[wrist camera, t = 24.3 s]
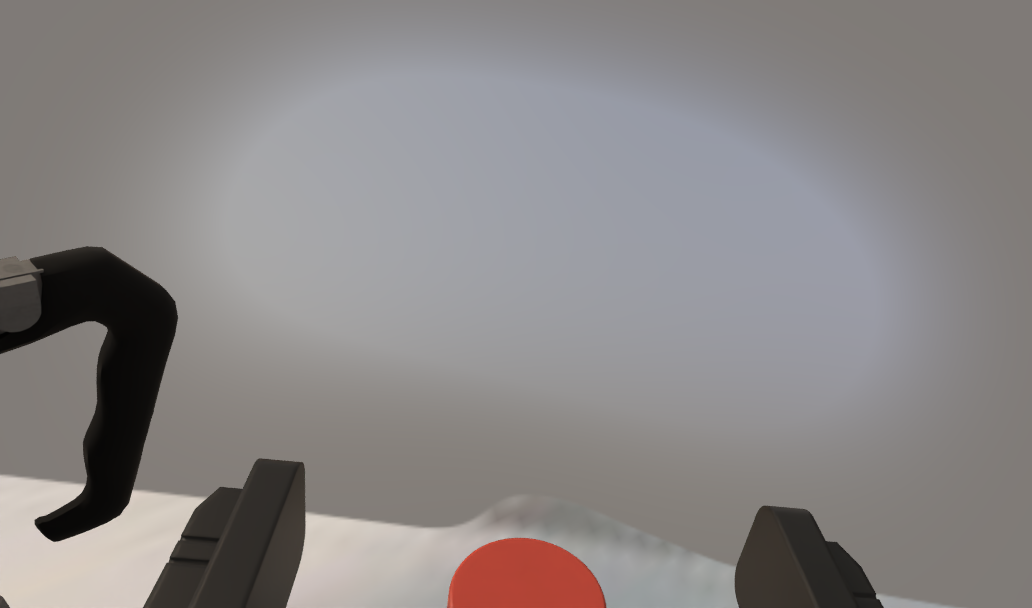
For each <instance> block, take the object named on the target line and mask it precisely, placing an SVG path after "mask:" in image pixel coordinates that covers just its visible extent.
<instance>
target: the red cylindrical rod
mask: <svg viewBox="0 0 1032 608" xmlns="http://www.w3.org/2000/svg"><path fill="white" fill-rule="evenodd" d="M447 608H606V602H605V598H604V595H603V592H602V589H601V587H600V585H599V583H598V581H597V579H596V578H595V576H594V575H593V574H592V572H591V571H590V570H589V569H588V568H587V566H586V565H585V564H584V563H583V562H581V561H580V560H579V559H578V558H577V557H575V556H574V555H572V554H571V553H570V552H568V551H566V550H564V549H562V548H560V547H558V546H556V545H554V544H551V543H548V542H545V541H541V540H536V539H529V538H509V539H503V540H498V541H495V542H491V543H489V544H486V545H484V546H482V547H480V548H479V549H477V550H475V551H474V552H473V553H471V554H470V555H469V556H468V557H467V558H466V559H465V560H464V561H463V562H462V563H461V564H460V566H459V567H458V569H457V570H456V572H455V574H454V576H453V578H452V581H451V584H450V588H449V595H448V604H447Z"/></svg>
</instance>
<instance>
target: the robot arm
mask: <svg viewBox="0 0 1032 608" xmlns="http://www.w3.org/2000/svg"><path fill="white" fill-rule="evenodd" d="M304 539H305V468H304V464H303V463H302V462H293V461H282V460H271V459H258V460H257V461H256V462H255V464H254V466H253V468H252V470H251V472H250V474H249V476H248V478H247V481H246V483H245V485H244V487H243V489H237V488H226V487H220V488H219V489H217V490H216V491H215V492H214V493H213V494H212V495H210V496H209V497H208V498H207V499H206V500H205V501H204V502H202V503H201V504H200V505H199V506H198V507H197V508H196V509H195V510H194V512H193V514H192V516H191V518H190V520H189V522H188V523H187V525H186V527H185V529H184V531H183V533H182V535H181V540H180V541H179V540H178V542H177V544H176V546H175V548H174V550H173V552H172V554H171V556H170V560H169V563H166V565H165V567H164V569H163V571H162V573H161V575H160V577H159V578H158V580H157V582H156V584H155V586H154V588H153V590H152V592H151V594H150V596H149V597H148V599H147V601H146V603H145V605H144V607H143V608H286V605H287V602H288V599H289V596H290V593H291V590H292V587H293V583H294V580H295V577H296V574H297V571H298V568H299V564H300V561H301V556H302V552H303V546H304ZM735 593H736V598H737V602H738V605H739V608H884V607H883V606H882V604H881V602H880V600H879V599H876V593H875V591H874V589H873V588H872V586H871V584H870V582H869V580H868V579H867V577H866V575H865V573H864V571H863V569H862V567H861V566H860V565H859V564H858V563H857V562H856V561H855V560H854V559H853V558H852V557H851V556H850V555H849V554H848V553H847V552H846V551H845V550H844V549H843V548H842V547H841V546H840V545H839V544H838V543H837V542H827V541H825V539H824V537H823V535H822V533H821V531H820V529H819V527H818V525H817V523H816V521H815V520H814V518H813V516H812V514H811V513H810V512H809V511H807V510H805V509H796V508H786V507H775V506H762V507H761V508H760V509H759V511H758V513H757V515H756V517H755V520H754V522H753V525H752V528H751V530H750V533H749V535H748V538H747V540H746V543H745V545H744V548H743V551H742V553H741V556H740V558H739V561H738V563H737V567H736V572H735Z"/></svg>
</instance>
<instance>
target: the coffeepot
mask: <svg viewBox="0 0 1032 608" xmlns="http://www.w3.org/2000/svg"><path fill="white" fill-rule="evenodd" d="M177 320H178V315H177V310H176V305H175V301H174V300H173V299H172V297H171V296H170V295H169V293H168V292H167V291H166V290H165V289H164V288H163V287H162V286H161V285H160V284H158V283H157V282H155V281H154V280H152V279H151V278H149V277H147V276H146V275H144V274H143V273H141V272H140V271H138V270H137V269H135V268H134V267H132V266H131V265H129V264H127V263H126V262H124V261H123V260H121V259H120V258H118V257H117V256H115V255H114V254H112V253H110V252H109V251H107V250H106V249H104V248H103V247H88V246H87V247H82V248H76V249H72V250H66V251H62V252H57V253H53V254H49V255H44V256H40V257H35V258H31V259H29V260H23V261H19V260H18V258H17V257H16V256H15V257H9V258H4V259H0V354H1V353H4V352H7V351H10V350H13V349H16V348H19V347H22V346H25V345H28V344H31V343H33V342H35V341H38V340H40V339H43V338H45V337H47V336H50V335H52V334H54V333H57V332H59V331H62V330H64V329H66V328H68V327H71V326H74V325H77V324H80V323H83V322H86V321H96V322H98V323H101V324H103V325H104V326H106V327H107V329H108V332H107V335H106V337H105V340H104V342H103V345H102V347H101V350H100V353H99V357H98V364H97V405H96V410H95V414H94V416H93V419H92V421H91V423H90V426H89V428H88V430H87V432H86V435H85V438H84V441H83V455H84V461H85V467H86V472H87V482H86V486H85V488H84V490H83V492H82V493H81V494H80V495H79V496H78V497H77V498H75V499H74V500H73V501H71V502H69V503H68V504H66V505H64V506H63V507H61V508H59V509H57V510H55V511H54V512H52V513H50V514H48V515H46V516H42V517H39V518H37V519H36V520H35V525H36V527H37V528H38V529H39V531H40V532H41V533H42V534H43V535H44V536H45V537H47V538H48V539H50V540H51V541H53V542H56V541H61V540H64V539H67V538H70V537H73V536H75V535H78V534H81V533H83V532H86V531H89V530H91V529H93V528H96V527H98V526H100V525H103V524H105V523H107V522H109V521H111V520H112V519H114V518H116V517H117V516H119V515H120V514H121V513H122V511H123V510H124V509H125V507H126V506H127V505H128V503H129V501H130V497H131V493H132V490H133V486H134V482H135V479H136V475H137V471H138V468H139V464H140V460H141V455H142V451H143V447H144V443H145V440H146V436H147V433H148V429H149V425H150V421H151V418H152V415H153V412H154V407H155V403H156V399H157V395H158V391H159V387H160V383H161V380H162V376H163V372H164V369H165V365H166V362H167V358H168V355H169V352H170V349H171V345H172V342H173V339H174V336H175V332H176V326H177ZM0 608H10V607H9V605H8V604H7V602H6V601H5V600H4V598H3V597H2V596H0Z"/></svg>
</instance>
